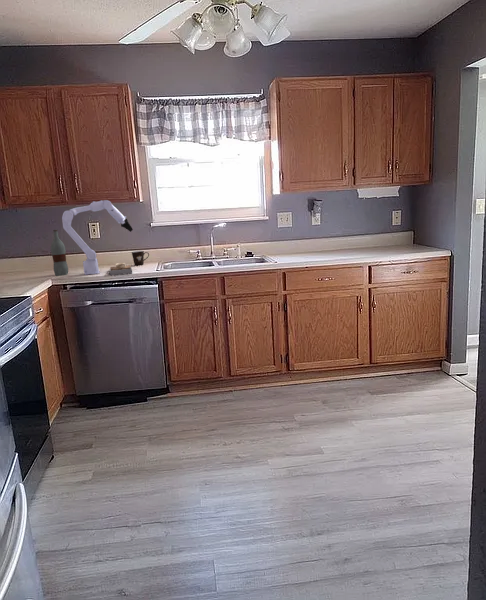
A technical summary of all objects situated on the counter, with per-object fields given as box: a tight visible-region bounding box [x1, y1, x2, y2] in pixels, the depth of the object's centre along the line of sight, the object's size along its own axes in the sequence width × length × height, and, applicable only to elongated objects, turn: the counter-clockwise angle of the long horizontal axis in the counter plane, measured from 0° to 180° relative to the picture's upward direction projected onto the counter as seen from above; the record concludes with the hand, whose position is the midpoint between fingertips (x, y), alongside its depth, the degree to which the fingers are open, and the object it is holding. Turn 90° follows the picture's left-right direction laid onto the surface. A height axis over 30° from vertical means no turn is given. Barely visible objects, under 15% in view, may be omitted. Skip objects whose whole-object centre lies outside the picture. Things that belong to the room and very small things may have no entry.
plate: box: [109, 264, 132, 271], centre depth 314 cm, size 14×12×2 cm
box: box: [109, 266, 133, 276], centre depth 303 cm, size 14×10×3 cm
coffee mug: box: [131, 250, 150, 267], centre depth 337 cm, size 12×9×10 cm
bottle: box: [50, 229, 69, 277], centre depth 309 cm, size 9×9×30 cm
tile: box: [115, 262, 126, 268], centre depth 313 cm, size 6×6×2 cm
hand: (131, 230), depth 313 cm, fingers open, 7 cm apart
